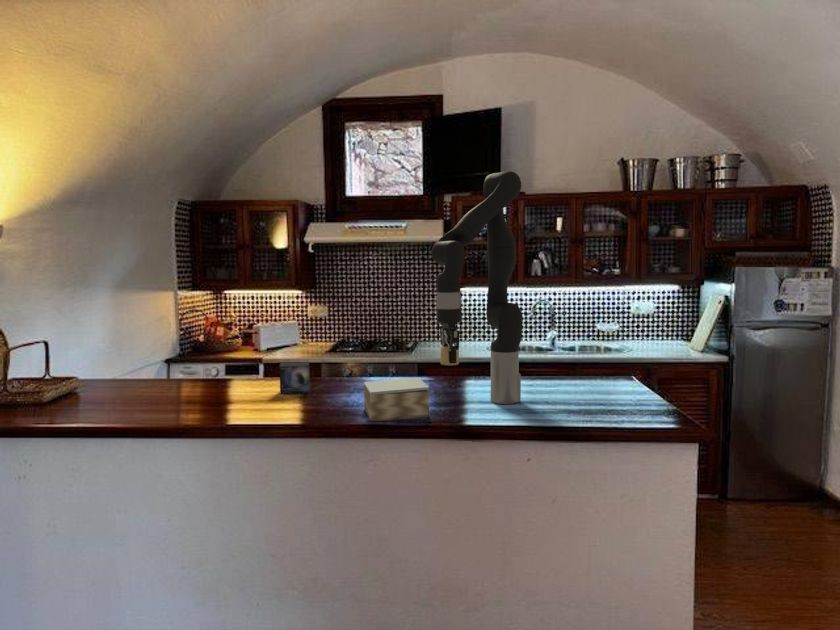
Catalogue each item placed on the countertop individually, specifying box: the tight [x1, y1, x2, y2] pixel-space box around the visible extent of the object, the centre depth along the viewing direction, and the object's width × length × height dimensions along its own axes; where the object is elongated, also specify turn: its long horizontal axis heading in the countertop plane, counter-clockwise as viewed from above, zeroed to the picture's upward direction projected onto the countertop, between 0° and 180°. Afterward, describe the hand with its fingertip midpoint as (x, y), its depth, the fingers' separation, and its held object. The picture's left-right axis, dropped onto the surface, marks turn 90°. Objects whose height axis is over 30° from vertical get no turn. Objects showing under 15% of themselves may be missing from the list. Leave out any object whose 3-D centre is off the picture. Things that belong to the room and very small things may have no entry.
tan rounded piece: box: [439, 346, 460, 366], centre depth 183 cm, size 6×6×5 cm
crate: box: [363, 385, 430, 422], centre depth 185 cm, size 18×14×8 cm
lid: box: [363, 376, 430, 395], centre depth 185 cm, size 18×14×1 cm
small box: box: [279, 361, 311, 395], centre depth 214 cm, size 11×6×10 cm, turn 101°
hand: (449, 361), depth 183 cm, fingers closed on tan rounded piece, 5 cm apart
